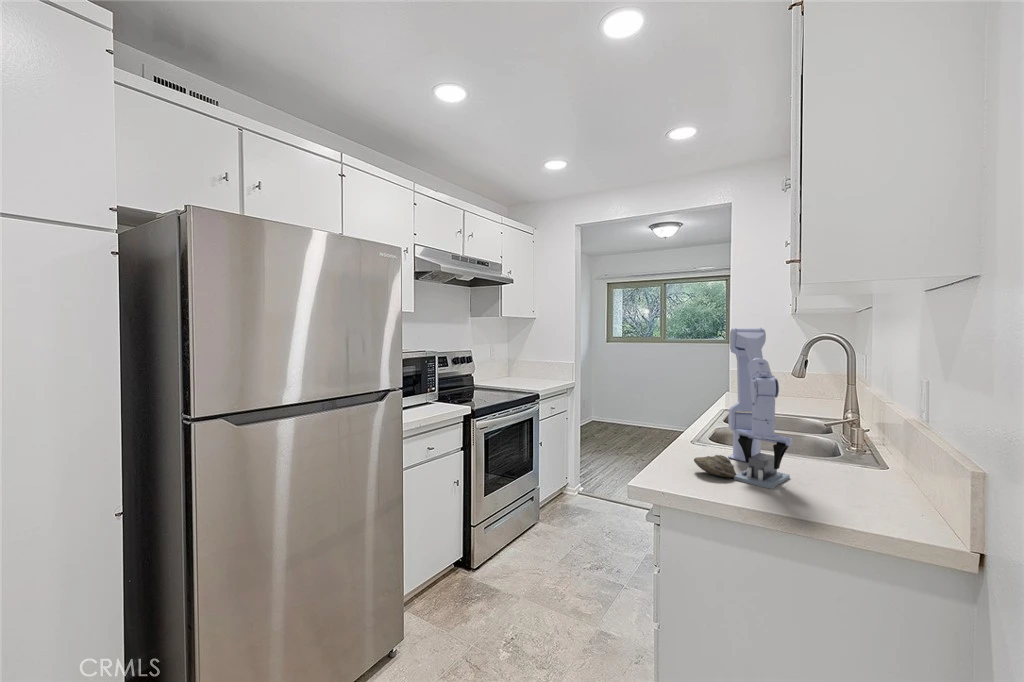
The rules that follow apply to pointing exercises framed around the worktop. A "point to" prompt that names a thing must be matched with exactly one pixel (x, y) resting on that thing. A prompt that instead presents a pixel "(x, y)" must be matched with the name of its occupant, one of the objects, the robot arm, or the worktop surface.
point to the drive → (762, 465)
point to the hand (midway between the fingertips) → (762, 465)
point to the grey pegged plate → (767, 483)
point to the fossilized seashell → (716, 465)
